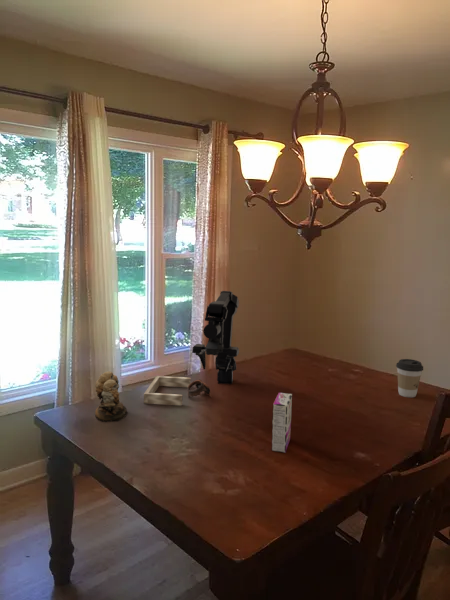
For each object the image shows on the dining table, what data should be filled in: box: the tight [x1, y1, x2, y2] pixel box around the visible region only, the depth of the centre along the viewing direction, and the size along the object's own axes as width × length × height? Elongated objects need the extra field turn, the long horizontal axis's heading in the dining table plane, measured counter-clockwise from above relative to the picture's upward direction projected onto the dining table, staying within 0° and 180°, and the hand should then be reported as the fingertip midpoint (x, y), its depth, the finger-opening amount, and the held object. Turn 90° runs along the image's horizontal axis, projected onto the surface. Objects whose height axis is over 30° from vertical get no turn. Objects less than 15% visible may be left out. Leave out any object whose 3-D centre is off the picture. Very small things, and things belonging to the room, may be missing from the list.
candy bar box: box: [271, 392, 293, 454], centre depth 163 cm, size 11×5×16 cm, turn 164°
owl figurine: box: [94, 371, 128, 423], centre depth 185 cm, size 18×12×17 cm, turn 15°
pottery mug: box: [187, 379, 212, 399], centre depth 207 cm, size 12×10×8 cm
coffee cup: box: [395, 358, 424, 398], centre depth 214 cm, size 11×11×15 cm
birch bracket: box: [143, 375, 192, 406], centre depth 208 cm, size 16×23×4 cm
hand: (215, 370), depth 203 cm, fingers open, 9 cm apart
